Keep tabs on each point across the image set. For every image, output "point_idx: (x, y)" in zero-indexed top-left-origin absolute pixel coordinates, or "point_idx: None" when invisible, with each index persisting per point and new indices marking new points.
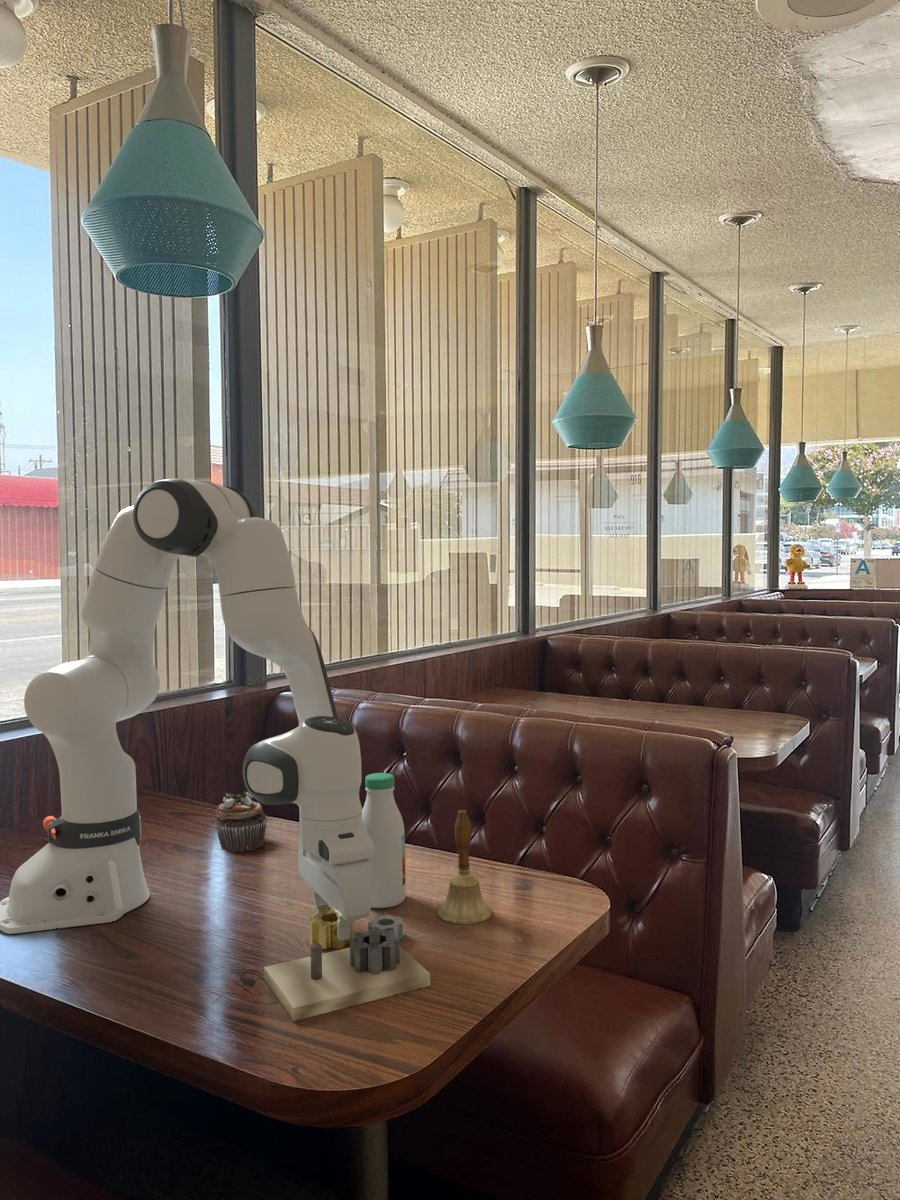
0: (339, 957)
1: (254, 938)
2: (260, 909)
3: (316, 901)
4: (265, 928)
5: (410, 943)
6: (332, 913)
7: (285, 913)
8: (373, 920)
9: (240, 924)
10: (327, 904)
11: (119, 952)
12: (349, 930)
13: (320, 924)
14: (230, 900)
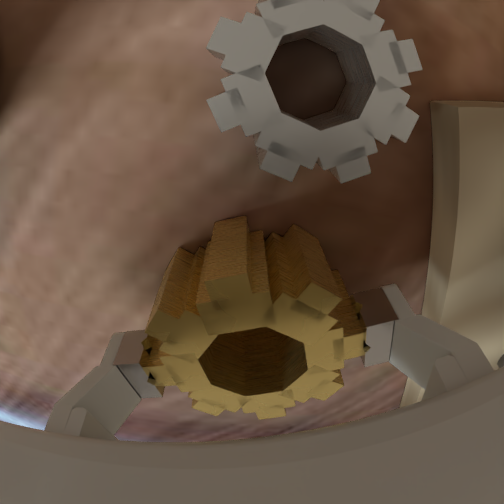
0: (478, 318)
1: (190, 431)
2: (38, 396)
3: (127, 414)
4: (135, 412)
5: (398, 5)
6: (197, 357)
7: (46, 368)
8: (270, 143)
9: (115, 433)
10: (116, 370)
11: None
12: (406, 305)
13: (308, 397)
14: (18, 414)
